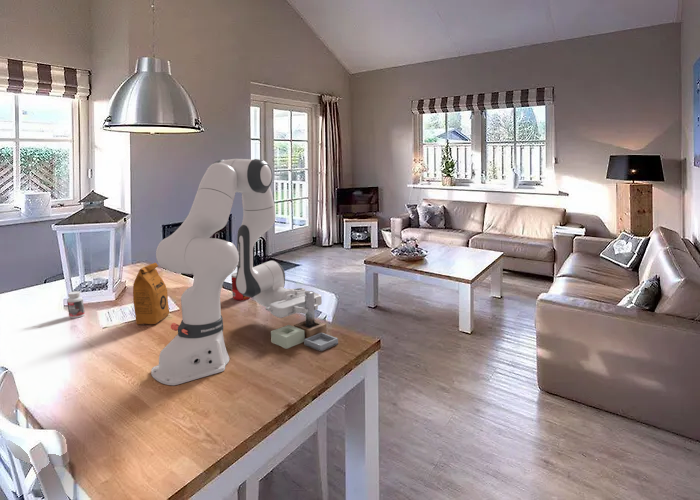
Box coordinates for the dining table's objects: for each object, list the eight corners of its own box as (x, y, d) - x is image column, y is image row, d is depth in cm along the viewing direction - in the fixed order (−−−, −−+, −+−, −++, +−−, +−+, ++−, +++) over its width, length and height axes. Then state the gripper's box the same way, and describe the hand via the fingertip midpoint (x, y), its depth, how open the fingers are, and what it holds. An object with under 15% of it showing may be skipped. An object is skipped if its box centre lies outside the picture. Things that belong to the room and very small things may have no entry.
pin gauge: (310, 333, 157) (309, 294, 155) (303, 330, 160) (302, 292, 157) (316, 330, 160) (315, 292, 157) (310, 328, 162) (309, 290, 159)
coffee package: (174, 315, 181) (169, 261, 176) (156, 327, 169) (150, 269, 164) (151, 314, 182) (145, 261, 178) (131, 325, 170) (125, 268, 166)
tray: (320, 351, 147) (320, 345, 146) (304, 344, 152) (304, 339, 151) (338, 343, 152) (337, 338, 152) (321, 337, 158) (321, 332, 157)
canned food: (246, 301, 198) (245, 276, 196) (229, 300, 199) (228, 276, 197) (253, 295, 205) (252, 272, 203) (237, 295, 207) (235, 271, 205)
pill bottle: (68, 319, 177) (65, 295, 175) (69, 315, 182) (66, 291, 180) (84, 317, 180) (81, 293, 178) (85, 313, 184) (82, 289, 182)
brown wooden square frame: (309, 341, 154) (309, 330, 154) (294, 335, 160) (293, 324, 159) (326, 334, 160) (326, 324, 159) (311, 329, 165) (310, 318, 165)
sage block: (286, 348, 149) (286, 337, 148) (271, 342, 154) (270, 331, 153) (304, 341, 155) (304, 330, 154) (289, 335, 160) (288, 324, 159)
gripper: (262, 299, 158) (288, 308, 149) (305, 286, 173) (331, 294, 164) (263, 316, 160) (288, 326, 151) (306, 302, 174) (332, 310, 165)
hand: (311, 309), depth 157 cm, fingers closed on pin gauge, 3 cm apart
